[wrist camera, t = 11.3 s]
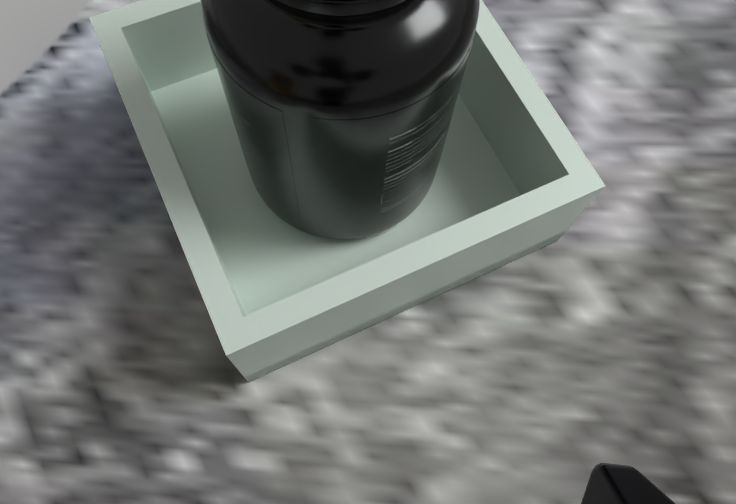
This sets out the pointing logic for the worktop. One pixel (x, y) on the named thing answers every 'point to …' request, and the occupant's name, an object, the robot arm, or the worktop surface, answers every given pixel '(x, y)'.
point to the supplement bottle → (341, 102)
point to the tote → (332, 256)
